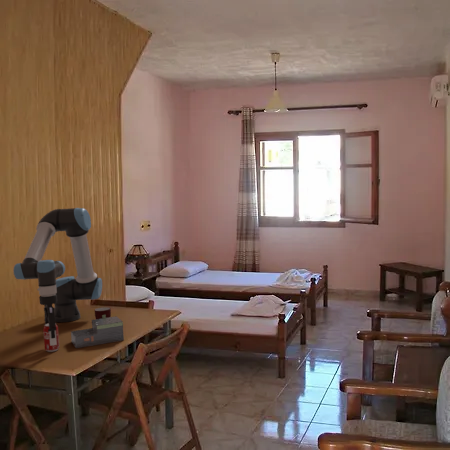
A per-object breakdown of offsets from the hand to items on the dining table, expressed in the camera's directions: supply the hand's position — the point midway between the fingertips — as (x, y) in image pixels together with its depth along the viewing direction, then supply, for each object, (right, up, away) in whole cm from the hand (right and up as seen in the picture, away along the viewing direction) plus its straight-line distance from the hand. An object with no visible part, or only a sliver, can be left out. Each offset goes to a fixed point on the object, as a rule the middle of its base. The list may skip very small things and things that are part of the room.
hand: (51, 341), depth 249 cm
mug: (+16, -1, +34) cm, 37 cm away
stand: (+18, -4, +12) cm, 22 cm away
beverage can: (0, -4, +1) cm, 4 cm away
